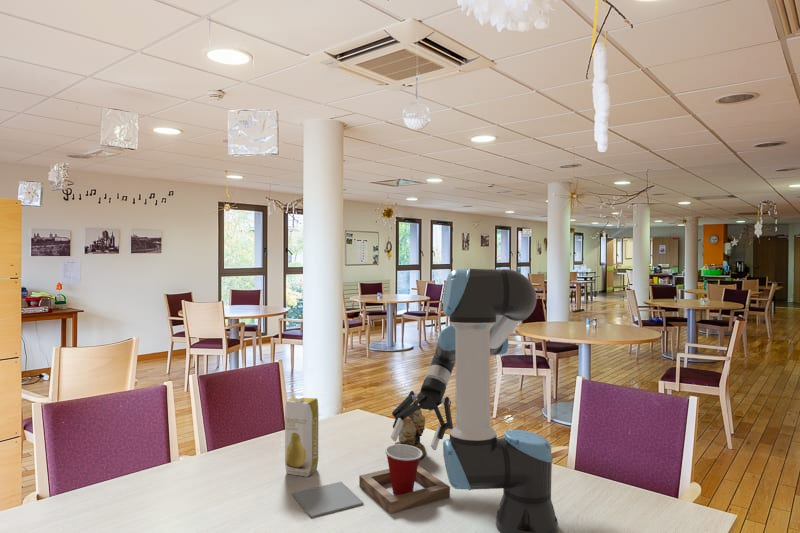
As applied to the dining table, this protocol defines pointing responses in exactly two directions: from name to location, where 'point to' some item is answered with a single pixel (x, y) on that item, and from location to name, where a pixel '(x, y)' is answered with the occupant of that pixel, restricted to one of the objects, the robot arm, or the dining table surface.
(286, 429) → the juice carton
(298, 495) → the rubber mat
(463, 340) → the robot arm
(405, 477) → the plastic cup
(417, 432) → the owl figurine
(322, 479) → the dining table surface
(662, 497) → the dining table surface
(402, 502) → the square wooden frame
